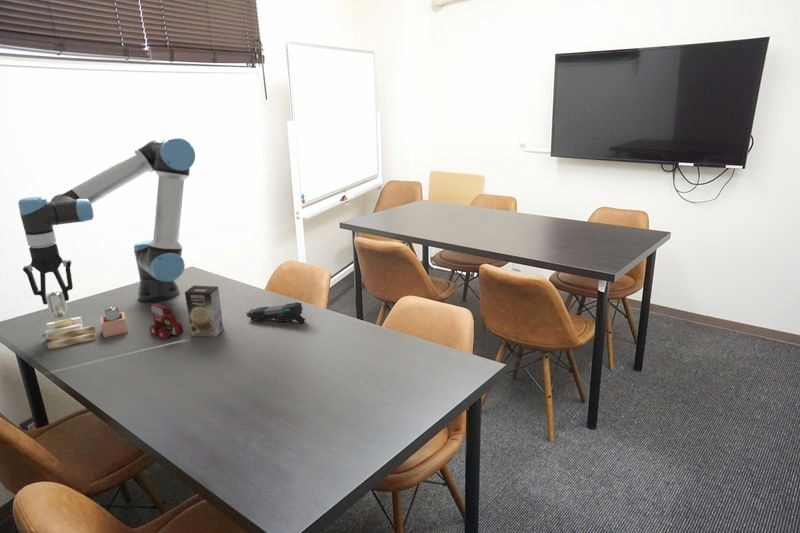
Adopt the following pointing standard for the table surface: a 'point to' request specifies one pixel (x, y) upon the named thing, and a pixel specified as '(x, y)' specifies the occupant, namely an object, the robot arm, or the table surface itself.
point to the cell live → (57, 305)
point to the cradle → (75, 325)
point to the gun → (278, 313)
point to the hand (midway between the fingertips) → (58, 310)
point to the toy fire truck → (164, 322)
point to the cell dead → (112, 314)
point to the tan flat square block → (63, 323)
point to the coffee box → (204, 310)
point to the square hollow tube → (114, 325)
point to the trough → (71, 337)
